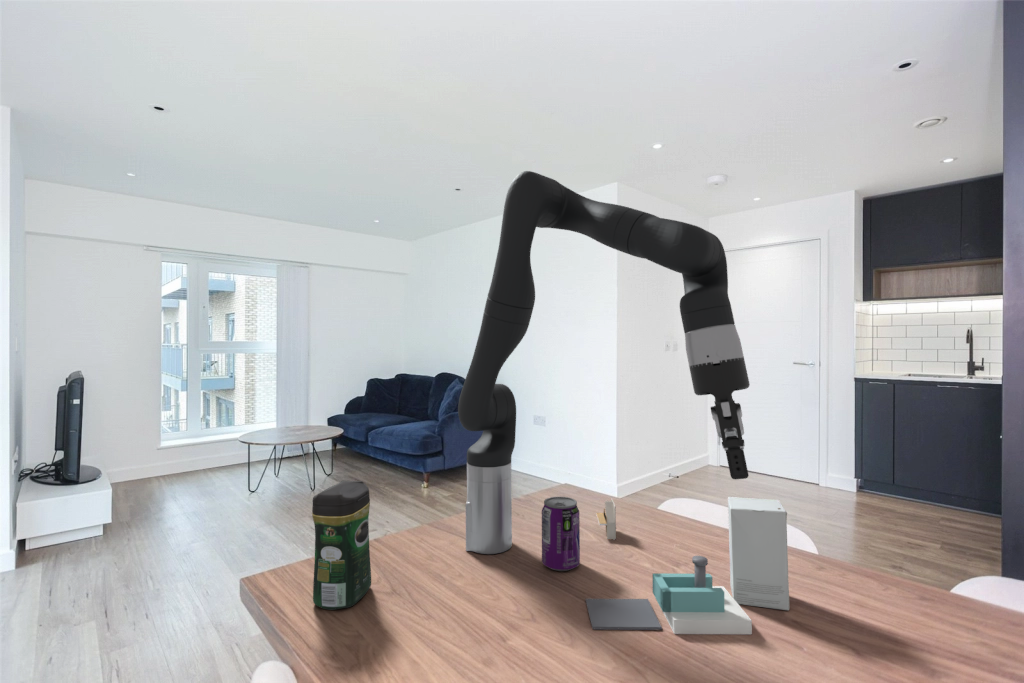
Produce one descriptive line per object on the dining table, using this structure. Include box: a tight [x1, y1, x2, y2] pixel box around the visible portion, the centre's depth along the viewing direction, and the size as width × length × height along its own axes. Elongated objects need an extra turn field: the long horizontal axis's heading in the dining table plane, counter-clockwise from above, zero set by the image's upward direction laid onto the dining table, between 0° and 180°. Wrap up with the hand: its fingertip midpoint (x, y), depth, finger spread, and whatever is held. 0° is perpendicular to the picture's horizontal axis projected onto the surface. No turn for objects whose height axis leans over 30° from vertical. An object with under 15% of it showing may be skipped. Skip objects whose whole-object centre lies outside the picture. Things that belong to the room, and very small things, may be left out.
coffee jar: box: [311, 479, 372, 611], centre depth 82 cm, size 10×8×19 cm
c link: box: [652, 572, 725, 613], centre depth 76 cm, size 9×6×3 cm, turn 89°
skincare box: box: [727, 496, 790, 611], centre depth 81 cm, size 8×7×16 cm
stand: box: [658, 555, 753, 635], centre depth 76 cm, size 11×10×9 cm
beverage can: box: [541, 496, 581, 572], centre depth 93 cm, size 7×7×12 cm
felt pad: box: [585, 598, 663, 631], centre depth 76 cm, size 10×8×1 cm
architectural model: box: [595, 497, 617, 541], centre depth 109 cm, size 3×7×7 cm, turn 176°
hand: (738, 472), depth 70 cm, fingers open, 8 cm apart
